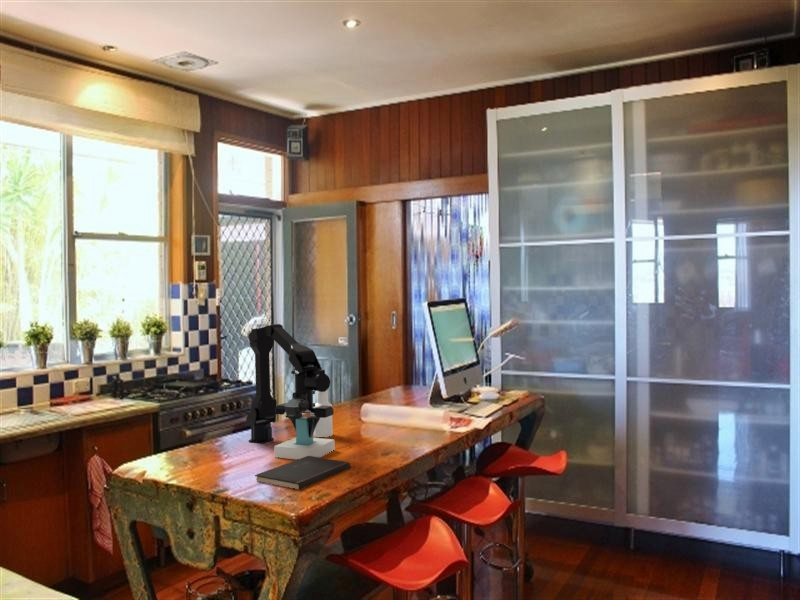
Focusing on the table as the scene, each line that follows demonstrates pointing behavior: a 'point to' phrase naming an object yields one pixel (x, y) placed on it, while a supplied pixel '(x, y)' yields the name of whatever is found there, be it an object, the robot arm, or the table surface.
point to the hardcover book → (303, 472)
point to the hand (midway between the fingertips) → (304, 436)
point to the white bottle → (324, 424)
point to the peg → (303, 432)
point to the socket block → (304, 449)
